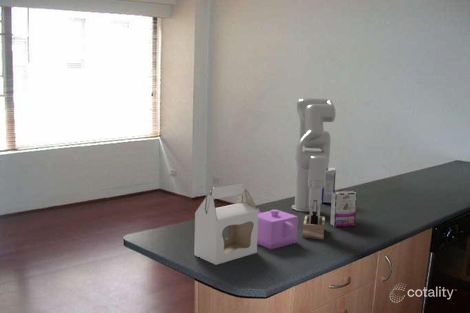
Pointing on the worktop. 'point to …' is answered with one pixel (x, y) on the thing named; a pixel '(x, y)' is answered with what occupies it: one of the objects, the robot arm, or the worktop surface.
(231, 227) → the gable box
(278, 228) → the teapot
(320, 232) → the open wooden box
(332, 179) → the milk carton
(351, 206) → the candy bar box
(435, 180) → the worktop surface
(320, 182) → the robot arm
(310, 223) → the brushed metal block
